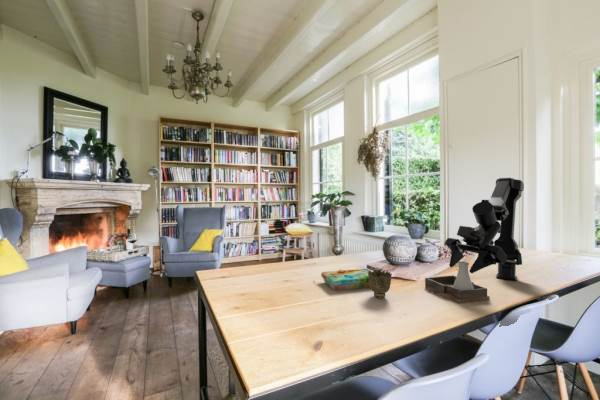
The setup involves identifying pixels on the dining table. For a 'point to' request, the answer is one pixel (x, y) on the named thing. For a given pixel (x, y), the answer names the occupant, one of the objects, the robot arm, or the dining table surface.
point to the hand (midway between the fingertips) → (460, 269)
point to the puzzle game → (347, 279)
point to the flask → (463, 278)
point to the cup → (379, 282)
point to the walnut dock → (455, 290)
